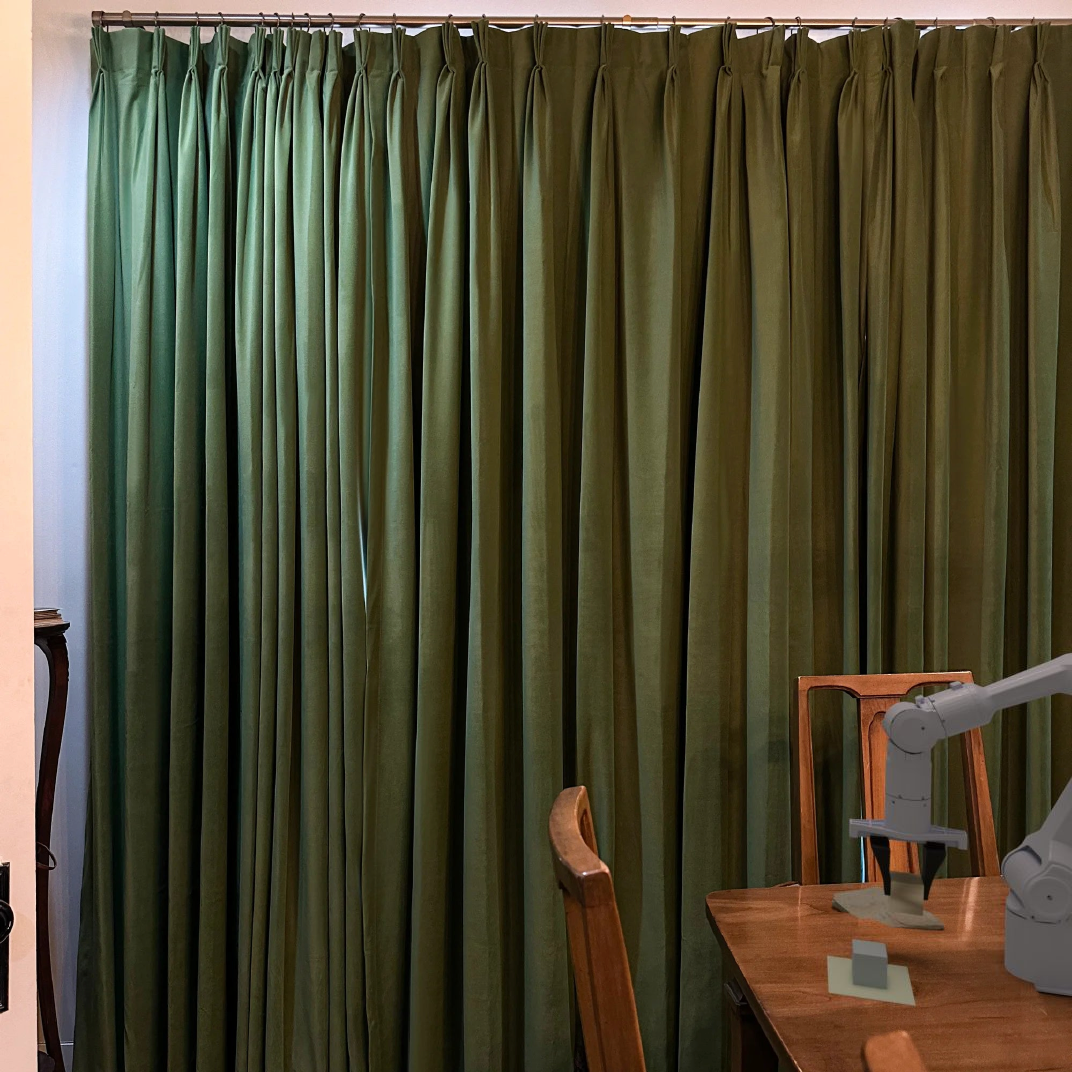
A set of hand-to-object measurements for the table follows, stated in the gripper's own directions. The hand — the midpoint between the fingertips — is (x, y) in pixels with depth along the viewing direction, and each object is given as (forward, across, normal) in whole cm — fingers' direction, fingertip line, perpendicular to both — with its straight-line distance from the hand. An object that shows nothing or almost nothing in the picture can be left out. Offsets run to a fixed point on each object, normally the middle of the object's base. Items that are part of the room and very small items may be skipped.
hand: (905, 895), depth 122 cm
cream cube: (+2, 0, 0) cm, 2 cm away
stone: (+10, +2, -16) cm, 19 cm away
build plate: (+10, +5, +8) cm, 13 cm away
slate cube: (+8, +5, +8) cm, 12 cm away
